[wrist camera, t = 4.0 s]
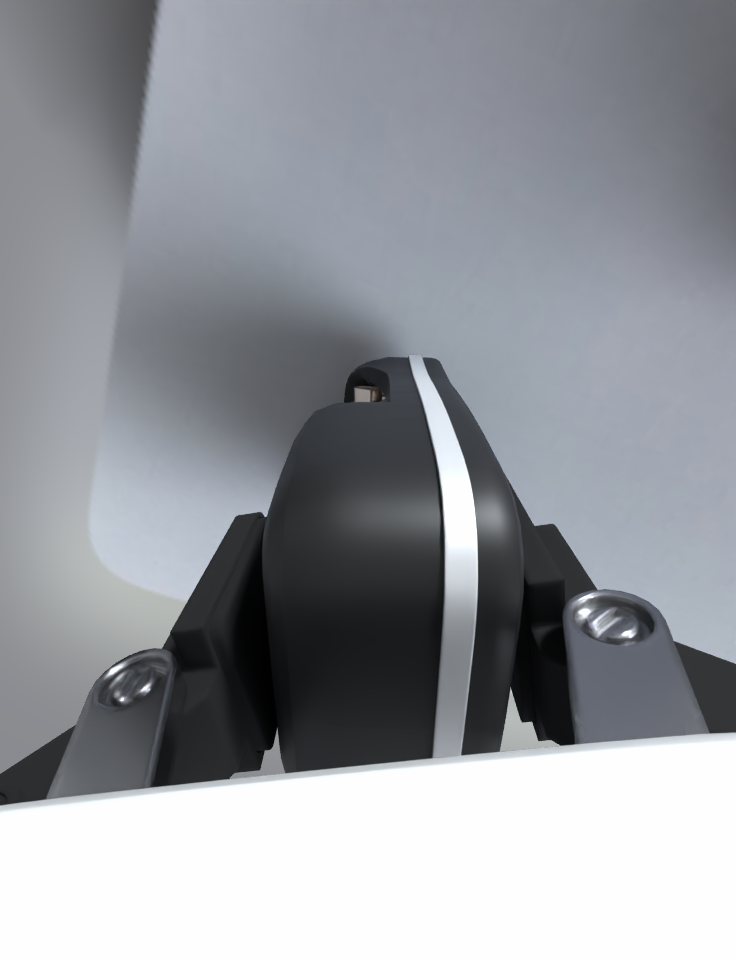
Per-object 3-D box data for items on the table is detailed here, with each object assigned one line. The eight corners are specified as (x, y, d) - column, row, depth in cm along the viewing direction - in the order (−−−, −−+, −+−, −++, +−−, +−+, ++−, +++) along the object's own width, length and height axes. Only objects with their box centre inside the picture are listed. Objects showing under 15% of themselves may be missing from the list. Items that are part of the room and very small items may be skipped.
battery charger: (324, 347, 16) (211, 510, 6) (441, 348, 16) (552, 516, 5) (330, 533, 19) (263, 872, 8) (429, 534, 19) (486, 880, 8)
